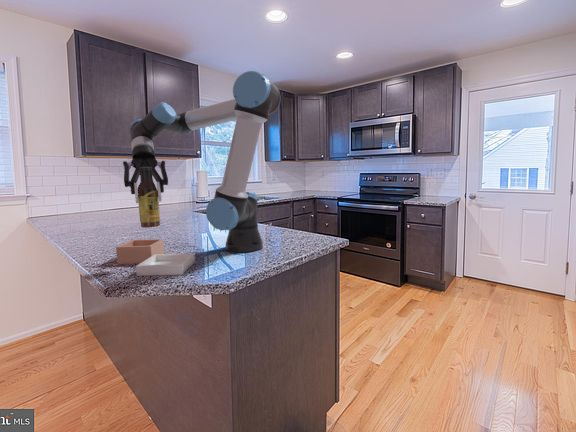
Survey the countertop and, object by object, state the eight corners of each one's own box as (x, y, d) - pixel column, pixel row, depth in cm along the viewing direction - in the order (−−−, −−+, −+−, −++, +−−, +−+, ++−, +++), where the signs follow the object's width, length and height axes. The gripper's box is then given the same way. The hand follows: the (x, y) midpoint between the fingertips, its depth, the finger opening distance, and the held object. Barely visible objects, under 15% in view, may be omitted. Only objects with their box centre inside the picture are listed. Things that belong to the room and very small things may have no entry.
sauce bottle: (153, 228, 103) (146, 166, 100) (136, 228, 104) (129, 167, 101) (165, 224, 109) (159, 166, 106) (149, 225, 110) (143, 167, 108)
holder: (164, 254, 122) (163, 239, 121) (152, 263, 110) (150, 246, 109) (133, 255, 122) (132, 240, 121) (117, 263, 110) (115, 247, 109)
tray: (195, 261, 110) (194, 253, 110) (182, 274, 97) (181, 265, 96) (155, 263, 110) (154, 254, 110) (136, 275, 96) (135, 266, 96)
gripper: (171, 159, 121) (179, 204, 109) (114, 160, 113) (116, 209, 101) (171, 144, 116) (179, 189, 103) (111, 143, 108) (113, 193, 95)
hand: (148, 199), depth 102 cm, fingers closed on sauce bottle, 6 cm apart
